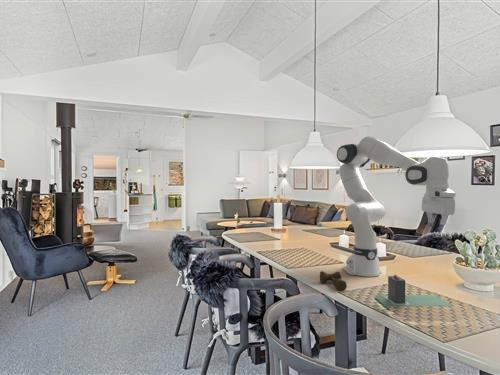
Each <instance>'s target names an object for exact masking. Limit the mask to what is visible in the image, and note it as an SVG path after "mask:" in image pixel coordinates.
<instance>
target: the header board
mask: <svg viewBox="0 0 500 375" xmlns="http://www.w3.org/2000/svg"><path fill="white" fill-rule="evenodd" d="M373 299H374V301H376V302H378V303H379V304H380V305H381V306H382V307H383V308H384V309H385V310H387V311H391V309H390V308H389V307H454V305H453V304H451V303H450V302H448V301H446V300H445V299H443V298H441V297H439V296H438V295H436V294H405V303H394V302H393V301H392V300H390V299H389V298H388V294H382V295H381V294H374V298H373Z"/></svg>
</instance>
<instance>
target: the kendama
mask: <svg viewBox="0 0 500 375" xmlns="http://www.w3.org/2000/svg"><path fill="white" fill-rule="evenodd" d="M329 281H330V282H331V281H332V283H333V284H332V285H333V286H334V287H335V288H336V290H337V291H339V292H342V291H345V290H346V289H347V286H348V284H347V282H346V281H345V280H343V279H342V274H341V272H340V271H335V272H334V273H326V272H325V271H323V270H321V271H320V272H319V282H320V283H321V284H322V285H323V284H325V283H327V282H329Z"/></svg>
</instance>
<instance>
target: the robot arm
mask: <svg viewBox="0 0 500 375" xmlns="http://www.w3.org/2000/svg"><path fill="white" fill-rule="evenodd" d="M336 157H337V158H336V159H337V161H339V163H342V164H341V165H340V167H339V168H338V170H339V177H340V181H341V183H342V185H343V188H344V190H345V192H346V195H347V197H348V198H349V199H350V200H352V201H353V202H354V203H353V202H352V203H351V204H348V206H347V207H346V210H345V216H346V218H347V220H348V221H349V222H350V223H351V225H352V228H353V231H354V246H353V247H352V249H353V252H352V254H351V255H350V256H349V257H348V258H347V259H346V262H345V263H346V265H344V266H342V269H343V270H344V271H345V272H346V273H348V274H349V275H352V276H353V275H354V276H359V277H367V278H368V277H371V278H372V277H378V276H380V275H381V274H382V270H380V259H379V257H378V248H377V232H375V230H374V229H373V227H372V223H373V222H377V221H379V220H382V219H383V218H384V217H385V216H386V209H385V207H384V206H385V205H383V204H381V203H380V202H379V201H378V200H376V198H375V197H374V196H373V195H372V193H371V192H370V191H369V189H368V186H366V183H365V181H364V179H363V177H362V174H361V172H360V168H363V167H365V165H366V164H368V163H369V162H370V161H372V162H374V163H376V164H379V165H381V166H388V167H389V166H390V167H398V168H400V169H403V170H405V174H404V176H405V180H406V181H407V183H408V184H410V185H412V186H425V193H424V195H423V197H422V200H421V211H422V212H424V213H426V216H427V220H428V221H427V222H428V223H434V220H435V219H434V218H433V214H437V215H441V220H439V224H440V225H442V226H446V225H447V220H448V218H449V216H453V215H455V211H456V199H455V198H456V192H455V191H453V190H452V189H450V188H449V182H448V179H449V164H448V160H447V159H446V158H444V157H441V156H429V157H427V158H426V159H425V160H423V161H421V162H420V161H417V160H415V159H413V158H412V157H409V156H407V155H406V154H403V153H402V152H400V151H399V150H397V149H396V148H395V147H393V146H391V145H390V144H388V143H386V142H384V141H383V140H381V139H378V138H376V137H373V136H365V137H363V138H361V140H360V141H359V143H357V144H354V143H350V144H349V143H346V144H343V145H340V147H338V149H337V151H336Z"/></svg>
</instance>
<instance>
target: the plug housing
mask: <svg viewBox="0 0 500 375" xmlns="http://www.w3.org/2000/svg"><path fill="white" fill-rule="evenodd" d="M387 277H388V278H387V282H388V283H387V295H388V298H389V299H390V300H392V301H393V302H394V303H405V295H406V280H405V279H403V278H402V277H400V276H399V275H397V274H393V275H388V276H387Z"/></svg>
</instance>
